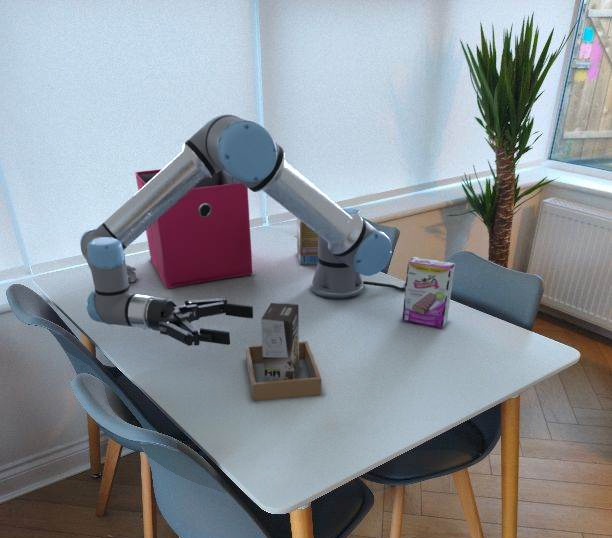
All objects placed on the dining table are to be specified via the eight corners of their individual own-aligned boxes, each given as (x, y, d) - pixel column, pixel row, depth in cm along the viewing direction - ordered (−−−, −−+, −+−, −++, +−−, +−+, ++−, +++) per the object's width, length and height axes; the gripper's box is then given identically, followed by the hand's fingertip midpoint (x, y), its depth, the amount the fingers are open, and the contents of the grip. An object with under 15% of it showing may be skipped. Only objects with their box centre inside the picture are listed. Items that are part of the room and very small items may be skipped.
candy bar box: (401, 321, 160) (406, 262, 151) (406, 314, 164) (412, 256, 155) (443, 329, 156) (451, 268, 147) (447, 322, 160) (455, 262, 151)
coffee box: (291, 389, 132) (290, 321, 123) (262, 385, 133) (259, 318, 124) (300, 368, 139) (299, 303, 130) (273, 365, 140) (270, 301, 131)
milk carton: (297, 254, 205) (296, 196, 195) (328, 252, 206) (329, 195, 196) (300, 264, 196) (300, 205, 186) (332, 263, 197) (333, 204, 187)
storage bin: (165, 290, 178) (152, 191, 163) (146, 259, 200) (133, 170, 185) (255, 276, 188) (250, 181, 172) (227, 248, 210) (221, 162, 194)
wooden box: (307, 355, 144) (307, 341, 142) (321, 394, 130) (321, 378, 127) (246, 361, 142) (245, 345, 140) (253, 400, 128) (252, 384, 125)
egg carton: (138, 281, 184) (136, 268, 182) (114, 286, 181) (111, 273, 179) (128, 270, 192) (126, 258, 190) (104, 274, 189) (102, 262, 187)
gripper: (180, 307, 149) (261, 317, 144) (127, 353, 129) (219, 367, 124) (177, 278, 145) (260, 287, 140) (121, 320, 125) (216, 334, 120)
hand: (241, 325), depth 132 cm, fingers open, 13 cm apart
